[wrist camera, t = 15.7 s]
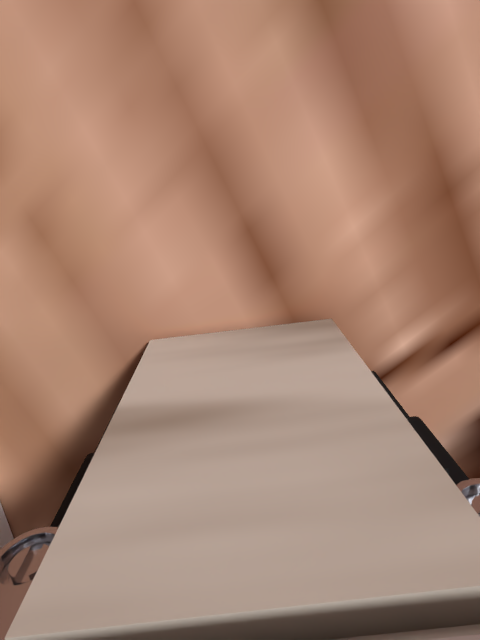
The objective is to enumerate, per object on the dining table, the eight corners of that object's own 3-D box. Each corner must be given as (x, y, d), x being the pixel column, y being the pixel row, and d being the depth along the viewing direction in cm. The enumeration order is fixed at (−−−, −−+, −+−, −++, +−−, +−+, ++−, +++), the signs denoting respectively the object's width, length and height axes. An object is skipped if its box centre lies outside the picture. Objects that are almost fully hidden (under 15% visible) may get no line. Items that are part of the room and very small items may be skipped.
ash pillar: (339, 471, 13) (490, 867, 6) (179, 489, 13) (113, 905, 6) (331, 318, 12) (527, 580, 4) (150, 340, 12) (4, 638, 4)
